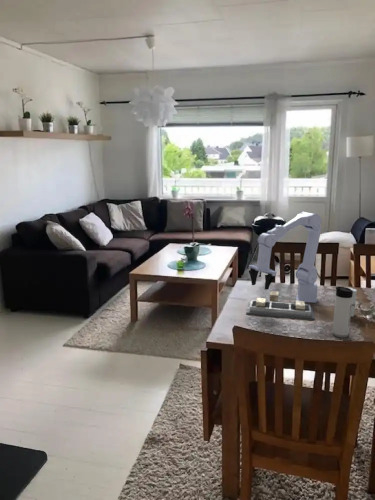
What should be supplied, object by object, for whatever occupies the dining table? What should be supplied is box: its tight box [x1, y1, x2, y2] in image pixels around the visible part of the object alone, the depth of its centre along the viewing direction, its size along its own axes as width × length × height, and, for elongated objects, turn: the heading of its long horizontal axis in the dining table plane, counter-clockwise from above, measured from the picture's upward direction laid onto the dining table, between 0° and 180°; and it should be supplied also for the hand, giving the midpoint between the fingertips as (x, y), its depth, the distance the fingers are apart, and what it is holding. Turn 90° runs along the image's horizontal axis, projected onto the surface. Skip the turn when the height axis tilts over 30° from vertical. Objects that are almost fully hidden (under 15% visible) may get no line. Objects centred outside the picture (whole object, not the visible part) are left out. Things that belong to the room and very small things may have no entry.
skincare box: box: [348, 287, 358, 317], centre depth 187 cm, size 6×4×12 cm
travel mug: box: [331, 286, 353, 339], centre depth 165 cm, size 6×7×20 cm
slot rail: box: [245, 297, 316, 321], centre depth 191 cm, size 30×13×5 cm, turn 77°
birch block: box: [269, 290, 279, 302], centre depth 203 cm, size 4×6×5 cm, turn 167°
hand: (259, 287), depth 195 cm, fingers open, 7 cm apart
